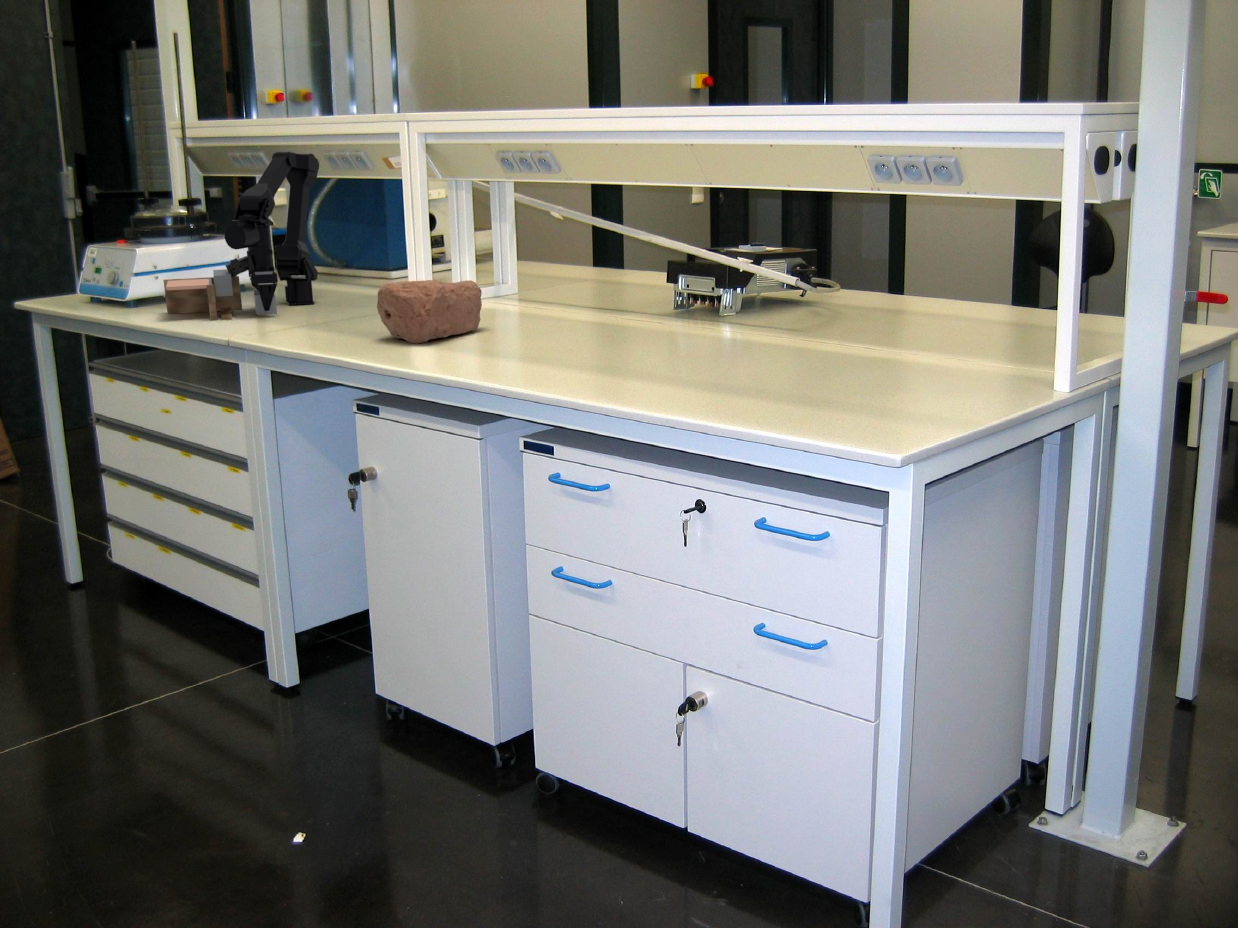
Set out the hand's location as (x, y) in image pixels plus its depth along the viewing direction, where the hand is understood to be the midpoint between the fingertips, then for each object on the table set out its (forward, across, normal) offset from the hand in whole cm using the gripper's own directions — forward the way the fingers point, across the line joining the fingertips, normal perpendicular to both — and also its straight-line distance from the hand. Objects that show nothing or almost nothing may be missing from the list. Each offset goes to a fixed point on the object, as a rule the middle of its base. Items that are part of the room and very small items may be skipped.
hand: (265, 308), depth 285 cm
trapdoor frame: (+1, -2, -14) cm, 15 cm away
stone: (+2, +50, +34) cm, 60 cm away
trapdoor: (-4, -2, -15) cm, 16 cm away
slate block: (+1, 0, 0) cm, 1 cm away
